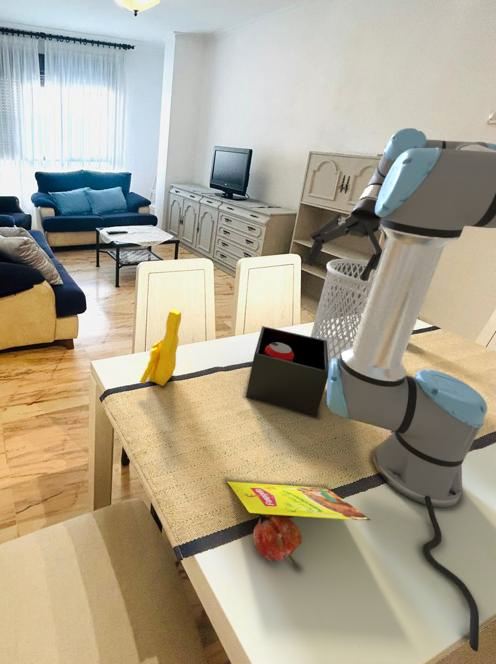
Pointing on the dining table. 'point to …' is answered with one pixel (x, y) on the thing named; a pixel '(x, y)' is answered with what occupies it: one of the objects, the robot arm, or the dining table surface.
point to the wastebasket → (340, 306)
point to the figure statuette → (164, 353)
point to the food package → (294, 501)
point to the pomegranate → (276, 537)
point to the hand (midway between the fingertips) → (335, 270)
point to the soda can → (279, 351)
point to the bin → (290, 372)
